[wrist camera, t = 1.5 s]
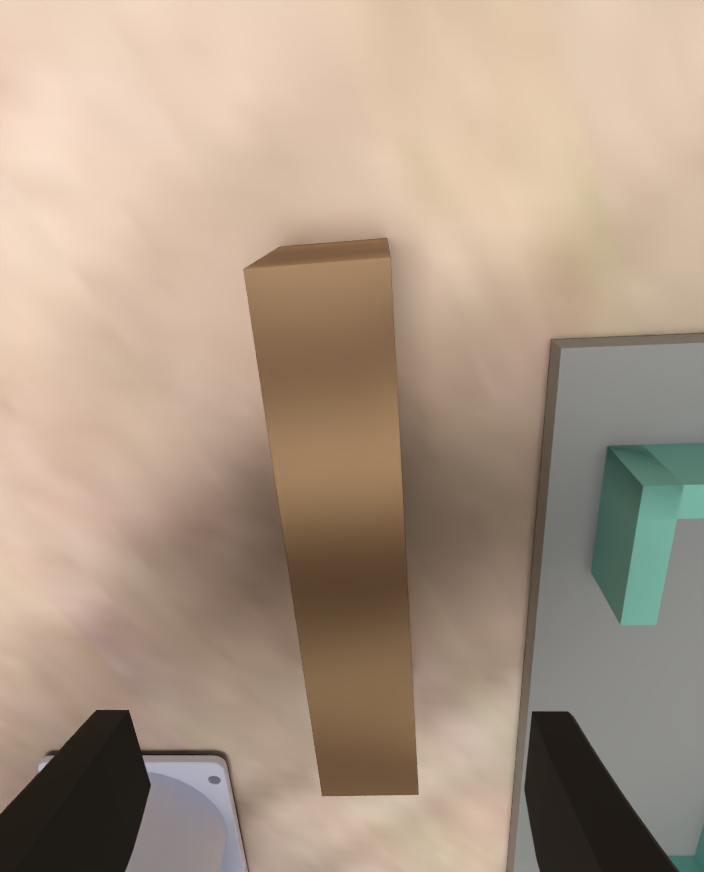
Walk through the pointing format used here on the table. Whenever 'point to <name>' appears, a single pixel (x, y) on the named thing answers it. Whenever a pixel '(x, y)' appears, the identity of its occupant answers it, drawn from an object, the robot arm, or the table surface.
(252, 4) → the table surface
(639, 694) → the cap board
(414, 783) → the slat
